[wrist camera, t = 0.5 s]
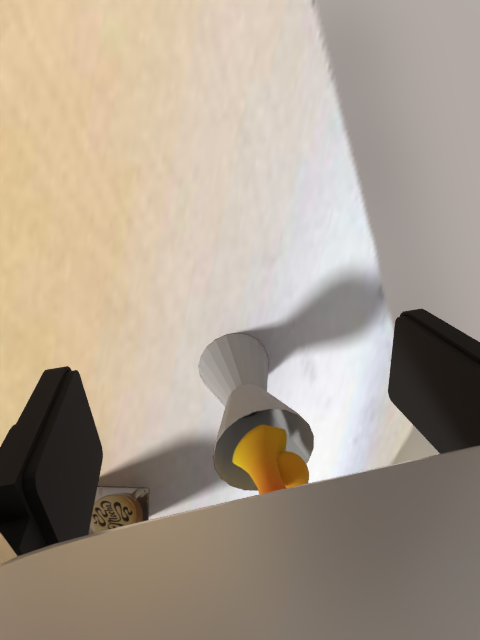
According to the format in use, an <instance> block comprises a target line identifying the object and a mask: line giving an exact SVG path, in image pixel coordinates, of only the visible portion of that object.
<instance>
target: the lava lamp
mask: <svg viewBox="0 0 480 640" xmlns="http://www.w3.org/2000/svg"><path fill="white" fill-rule="evenodd" d="M199 372H200V377H201V378H202V380H203V382H204V384H205V385H206V386H207V387H208V388H209V389H210V391H211V392H212V393H213V394H214V395H215V396H216V397H217V398H218V399H219V400H220V402H221V403H222V404H223V405H224V406H225V411H224V415H223V418H222V422H221V425H220V429H219V433H218V436H217V440H216V444H215V447H214V451H213V459H214V466H215V469H216V471H217V473H218V474H219V476H220V478H221V479H222V480H224V481H225V482H227V483H228V484H229V485H231V486H233V487H236V488H239V489H243V490H258V491H259V494H264V493H268V492H273V491H277V490H282V489H286V488H290V487H295V486H299V485H304V484H308V480H309V471H308V467H307V465H306V463H307V462H308V461H309V458H310V456H311V453H312V451H313V443H314V436H313V433H312V431H311V428H310V426H309V424H308V423H307V422H306V421H305V420H304V419H303V418H302V417H301V416H300V415H299V414H298V413H297V412H295V411H294V410H292V409H291V408H289V407H288V406H287V405H285V404H284V403H282V402H281V401H279V400H278V399H277V398H275V397H274V396H272V395H271V394H269V393H268V392H267V378H268V354H267V352H266V350H265V347H264V346H263V345H262V344H261V343H260V342H259V341H258V340H257V339H256V338H253V337H251V336H249V335H246V334H239V333H235V334H228V335H224V336H222V337H220V338H218V339H216V340H214V341H213V342H212V343H211V344H210V345H208V346H207V347H206V349H205V351H204V352H203V354H202V355H201V358H200V363H199Z"/></svg>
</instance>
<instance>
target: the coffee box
mask: <svg viewBox="0 0 480 640" xmlns="http://www.w3.org/2000/svg"><path fill="white" fill-rule="evenodd" d="M149 492H150V490H149V489H148V488H117V487H97V491H96V497H95V502H94V507H93V513H92V518H91V523H90V529H89V534H88V535H90V534H94V533H98V532H101V531H105V530H109V529H113V528H117V527H121V526H125V525H130V524H134V523H138V522H143V521H147V520H149Z"/></svg>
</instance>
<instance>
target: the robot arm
mask: <svg viewBox="0 0 480 640" xmlns="http://www.w3.org/2000/svg"><path fill="white" fill-rule="evenodd" d="M388 394H389V397H390V399H391V401H392V402H393V404H394V405H395V406H396V407H397V408H398V409H399V410H400V411H401V412H402V413H403V414H404V415H405V416H406V417H407V419H408V420H409V421H410V422H411V423H412V424H413V425H414V426H415V427H416V428H417V429H418V430H419V431H420V432H421V433H422V435H423V436H424V437H425V438H426V439H427V440H428V441H429V442H430V443H431V444H432V445H433V446H434V448H435V449H436V450H437V451H438V452H439V453H440V454H438V455H434V456H429V457H425V458H421V459H416V460H411V461H406V462H402V463H398V464H393V465H388V466H384V467H379V468H375V469H371V470H366V471H362V472H357V473H353V474H348V475H344V476H339V477H335V478H330V479H326V480H321V481H317V482H313V483H308V484H304V485H299V486H295V487H290V488H286V489H282V490H277V491H273V492H268V493H264V494H260V495H255V496H251V497H247V498H242V499H238V500H234V501H229V502H225V503H221V504H216V505H212V506H208V507H203V508H199V509H195V510H190V511H186V512H182V513H177V514H173V515H169V516H164V517H160V518H156V519H151V520H147V521H143V522H138V523H134V524H130V525H125V526H121V527H117V528H113V529H109V530H105V531H101V532H98V533H94V534H90V535H88V534H89V529H90V523H91V518H92V513H93V507H94V502H95V497H96V491H97V486H98V481H99V475H100V470H101V465H102V459H103V452H102V446H101V442H100V439H99V436H98V433H97V429H96V426H95V423H94V420H93V416H92V413H91V410H90V407H89V403H88V400H87V397H86V394H85V390H84V387H83V384H82V381H81V377H80V374H79V372H78V371H77V370H75V371H71V369H70V367H68V366H67V367H61V368H55V369H48V370H45V371H44V372H43V374H42V376H41V378H40V380H39V382H38V384H37V386H36V388H35V389H34V391H33V393H32V395H31V397H30V399H29V401H28V403H27V404H26V406H25V408H24V410H23V412H22V414H21V416H20V418H19V420H18V421H17V423H16V424H15V425H13V426H12V428H11V429H10V430H9V432H8V434H7V436H6V438H5V440H4V441H3V443H2V445H1V447H0V640H480V342H478V341H477V340H475V339H473V338H471V337H469V336H468V335H466V334H465V333H463V332H461V331H460V330H458V329H456V328H455V327H453V326H451V325H449V324H448V323H446V322H444V321H443V320H441V319H439V318H437V317H436V316H434V315H432V314H431V313H429V312H427V311H426V310H424V309H417V310H411V311H405V312H403V313H401V315H400V317H398V318H397V319H396V321H395V329H394V339H393V348H392V358H391V367H390V377H389V387H388Z"/></svg>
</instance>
